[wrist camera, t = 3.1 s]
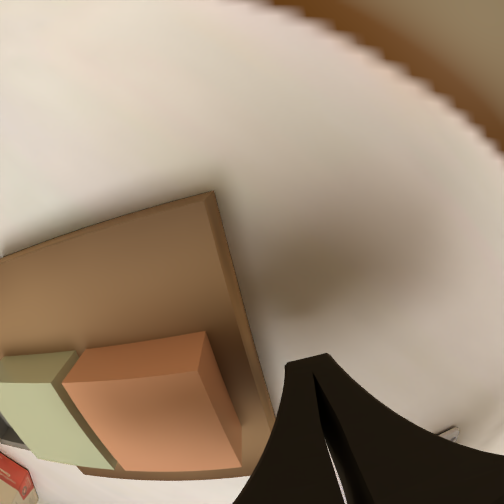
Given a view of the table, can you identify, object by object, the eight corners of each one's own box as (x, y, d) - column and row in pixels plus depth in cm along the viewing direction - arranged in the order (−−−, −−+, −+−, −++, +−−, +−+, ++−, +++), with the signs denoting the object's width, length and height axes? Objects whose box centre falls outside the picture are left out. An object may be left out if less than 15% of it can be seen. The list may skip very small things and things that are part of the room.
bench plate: (277, 426, 14) (283, 470, 11) (98, 439, 15) (84, 474, 12) (214, 190, 11) (203, 200, 8) (2, 257, 11) (-37, 278, 9)
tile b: (126, 435, 11) (114, 469, 9) (53, 431, 11) (37, 458, 9) (75, 350, 9) (50, 383, 7) (4, 356, 10) (-20, 381, 8)
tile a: (241, 426, 10) (241, 466, 9) (136, 435, 11) (125, 470, 9) (205, 330, 9) (197, 370, 7) (85, 349, 9) (61, 383, 7)
